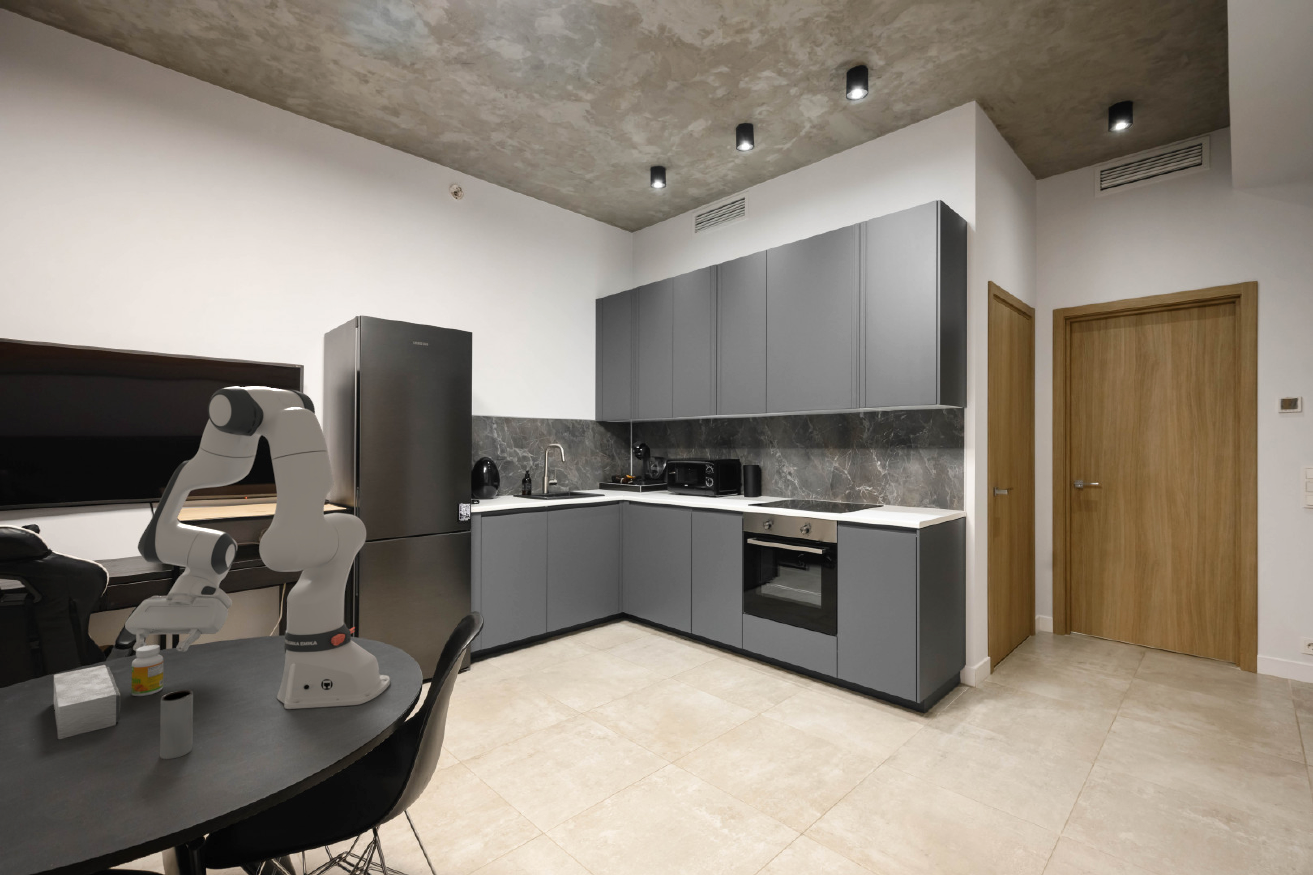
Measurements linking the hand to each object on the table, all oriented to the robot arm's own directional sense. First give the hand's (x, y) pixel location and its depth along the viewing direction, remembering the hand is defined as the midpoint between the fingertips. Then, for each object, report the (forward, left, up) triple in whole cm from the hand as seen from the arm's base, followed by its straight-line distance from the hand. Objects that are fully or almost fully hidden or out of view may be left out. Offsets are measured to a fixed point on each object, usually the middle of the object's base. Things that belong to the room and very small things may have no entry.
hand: (159, 650), depth 137 cm
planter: (-28, +28, -8) cm, 40 cm away
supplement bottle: (0, +3, -8) cm, 9 cm away
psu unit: (+3, +14, -8) cm, 17 cm away
